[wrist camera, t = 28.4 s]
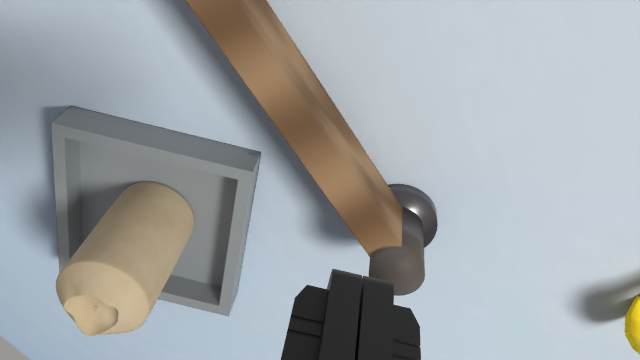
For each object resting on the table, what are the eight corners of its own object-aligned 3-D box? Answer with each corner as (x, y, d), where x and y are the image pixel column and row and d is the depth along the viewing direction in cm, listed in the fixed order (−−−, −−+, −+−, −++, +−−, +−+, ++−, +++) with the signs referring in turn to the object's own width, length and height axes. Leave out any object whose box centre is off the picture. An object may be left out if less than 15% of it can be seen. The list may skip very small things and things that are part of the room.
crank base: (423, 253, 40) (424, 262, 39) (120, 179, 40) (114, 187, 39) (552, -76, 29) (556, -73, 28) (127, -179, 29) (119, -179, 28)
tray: (237, 292, 44) (228, 316, 42) (76, 253, 44) (59, 274, 42) (261, 152, 38) (252, 171, 35) (71, 105, 38) (51, 122, 35)
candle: (183, 256, 42) (126, 365, 34) (111, 226, 42) (35, 329, 33) (205, 200, 39) (149, 304, 31) (128, 167, 39) (50, 264, 30)
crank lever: (431, 236, 38) (435, 301, 33) (388, 254, 39) (385, 319, 34) (203, -118, 28) (158, -105, 23) (155, -81, 30) (102, -60, 25)
